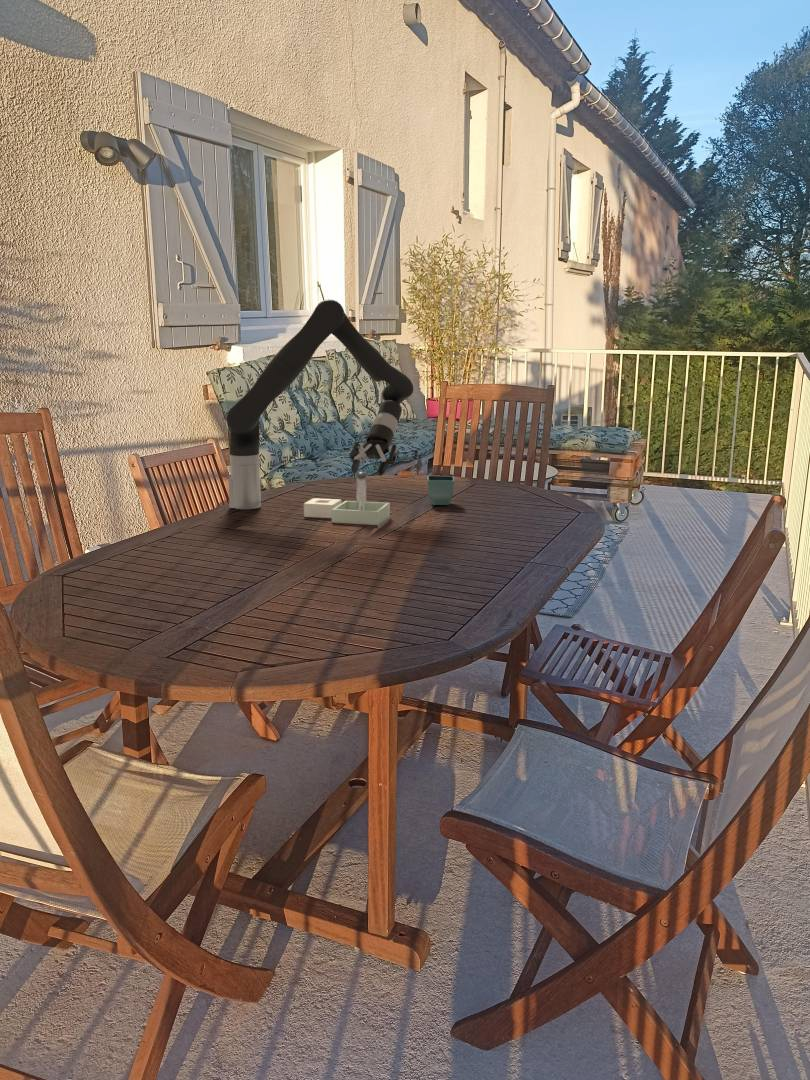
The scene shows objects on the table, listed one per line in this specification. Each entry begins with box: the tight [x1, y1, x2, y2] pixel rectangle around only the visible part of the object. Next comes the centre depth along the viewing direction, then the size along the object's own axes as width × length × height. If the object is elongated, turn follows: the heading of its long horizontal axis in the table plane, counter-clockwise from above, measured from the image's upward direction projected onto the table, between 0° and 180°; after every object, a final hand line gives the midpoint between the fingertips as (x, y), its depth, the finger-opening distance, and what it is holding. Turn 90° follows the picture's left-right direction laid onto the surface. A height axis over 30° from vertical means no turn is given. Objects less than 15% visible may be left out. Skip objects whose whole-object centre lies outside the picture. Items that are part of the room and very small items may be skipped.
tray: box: [331, 500, 391, 529], centre depth 251 cm, size 14×14×5 cm
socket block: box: [303, 497, 342, 519], centre depth 256 cm, size 9×9×5 cm
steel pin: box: [355, 471, 368, 511], centre depth 250 cm, size 3×3×14 cm
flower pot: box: [427, 475, 456, 506], centre depth 277 cm, size 9×9×9 cm
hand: (366, 473), depth 251 cm, fingers open, 8 cm apart
